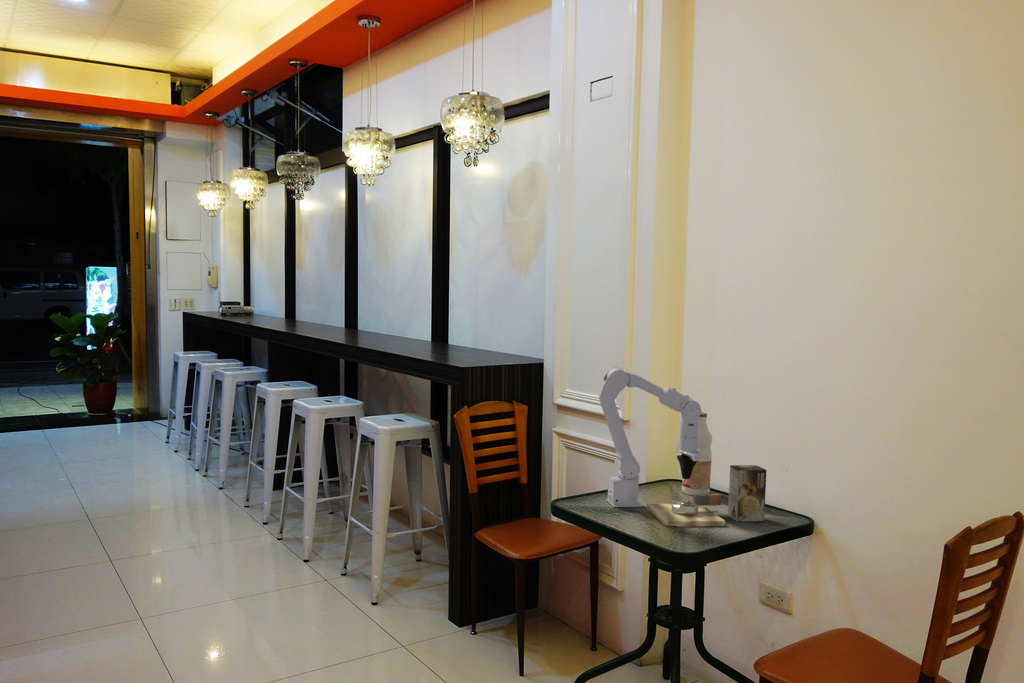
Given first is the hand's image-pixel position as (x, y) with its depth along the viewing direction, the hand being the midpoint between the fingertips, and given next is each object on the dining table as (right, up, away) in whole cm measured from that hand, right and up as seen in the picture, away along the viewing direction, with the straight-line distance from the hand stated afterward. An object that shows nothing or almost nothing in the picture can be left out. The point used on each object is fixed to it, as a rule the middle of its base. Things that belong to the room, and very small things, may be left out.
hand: (686, 478), depth 232 cm
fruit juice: (+8, -9, +19) cm, 22 cm away
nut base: (-3, -10, -10) cm, 15 cm away
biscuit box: (+16, -11, -9) cm, 22 cm away
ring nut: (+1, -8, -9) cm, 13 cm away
